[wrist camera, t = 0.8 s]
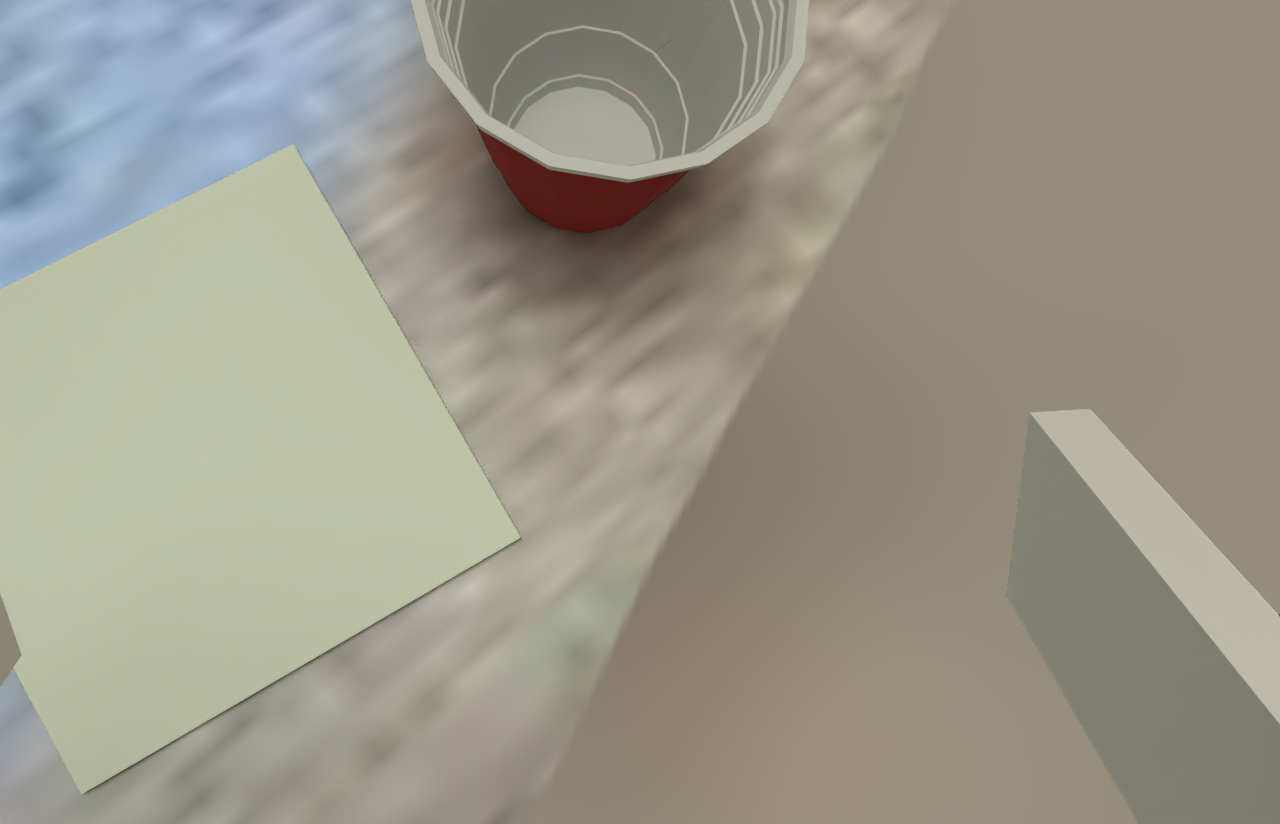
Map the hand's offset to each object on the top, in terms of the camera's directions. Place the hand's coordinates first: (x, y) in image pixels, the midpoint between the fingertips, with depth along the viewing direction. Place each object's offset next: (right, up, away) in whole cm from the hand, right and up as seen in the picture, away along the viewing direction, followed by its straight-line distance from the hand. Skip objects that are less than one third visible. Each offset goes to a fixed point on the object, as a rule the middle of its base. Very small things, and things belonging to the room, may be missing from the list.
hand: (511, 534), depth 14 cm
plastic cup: (0, +11, +28) cm, 30 cm away
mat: (-13, 0, +24) cm, 28 cm away
